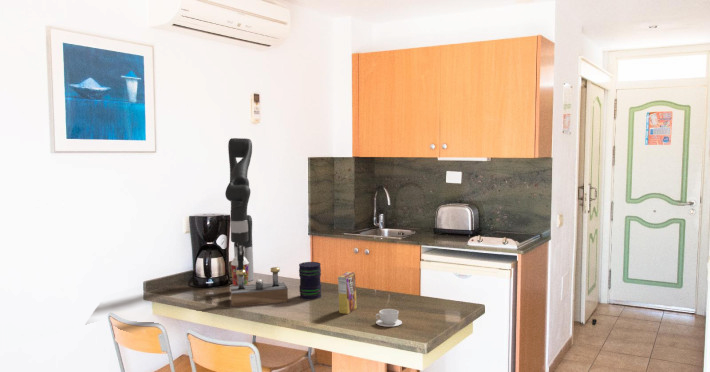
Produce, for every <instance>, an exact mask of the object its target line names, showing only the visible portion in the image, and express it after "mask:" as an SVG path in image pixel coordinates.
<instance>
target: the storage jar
mask: <svg viewBox="0 0 710 372" xmlns="http://www.w3.org/2000/svg"><path fill="white" fill-rule="evenodd" d="M298 266H299V267H298V269H299V270H298V273H299V294H300V295H299V298H300V299H302V300H309V301H310V300H312V301H313V300H317V299H320V298H322V283H321V276H322V269H321V268H322V267H321V262H318V261H306V262H305V261H304V262H299V264H298Z"/></svg>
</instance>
